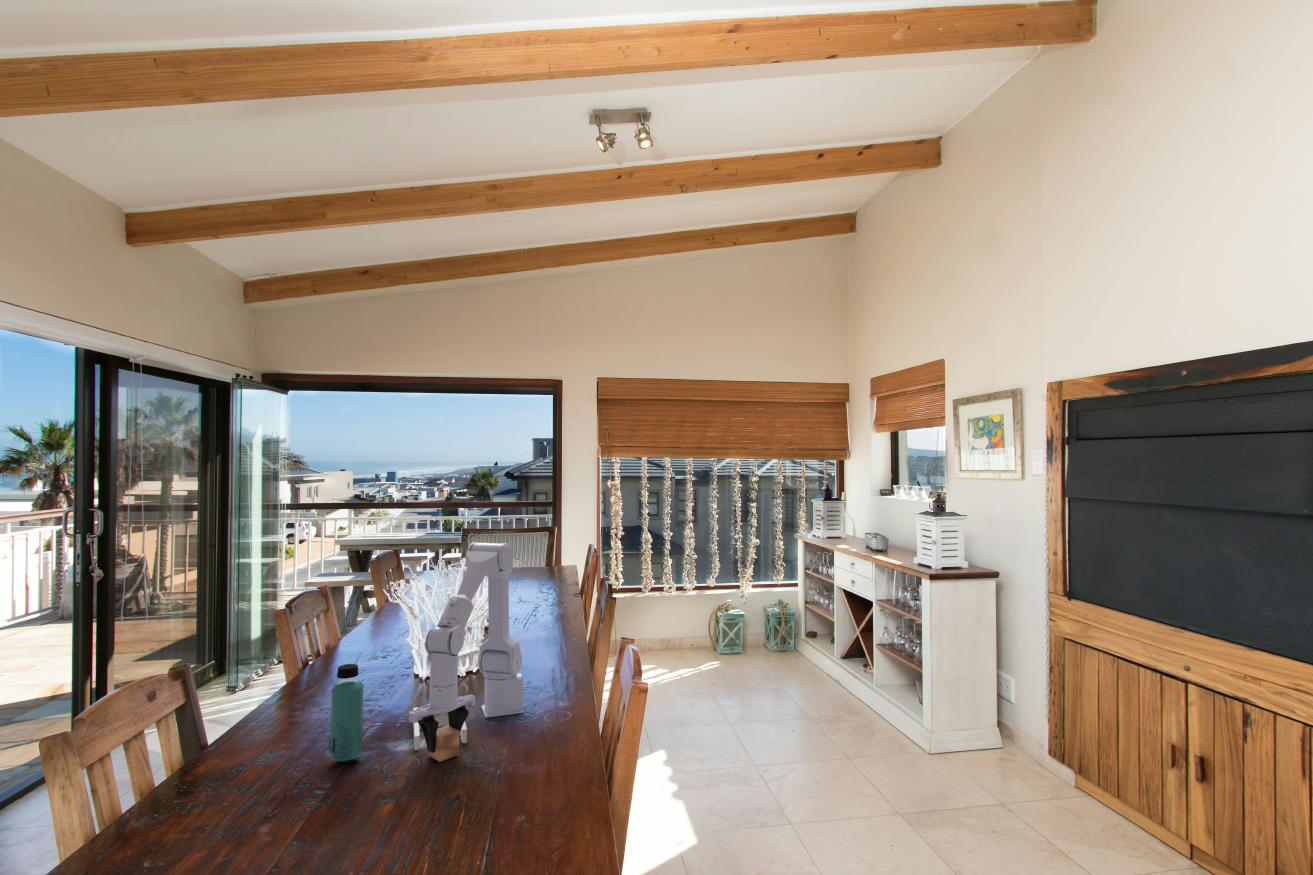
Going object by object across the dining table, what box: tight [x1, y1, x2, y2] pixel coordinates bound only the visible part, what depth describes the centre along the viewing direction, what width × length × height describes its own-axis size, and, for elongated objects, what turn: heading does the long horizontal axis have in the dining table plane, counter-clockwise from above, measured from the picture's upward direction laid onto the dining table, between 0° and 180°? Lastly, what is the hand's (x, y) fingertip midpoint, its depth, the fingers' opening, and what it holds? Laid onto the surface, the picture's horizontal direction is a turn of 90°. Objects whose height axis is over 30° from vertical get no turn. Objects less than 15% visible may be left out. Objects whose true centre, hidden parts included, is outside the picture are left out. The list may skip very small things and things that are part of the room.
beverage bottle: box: [328, 663, 365, 762], centre depth 137 cm, size 6×7×20 cm
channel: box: [412, 707, 468, 751], centre depth 153 cm, size 11×18×3 cm, turn 21°
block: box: [428, 726, 460, 763], centre depth 139 cm, size 4×4×5 cm
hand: (442, 747), depth 140 cm, fingers closed on block, 4 cm apart
